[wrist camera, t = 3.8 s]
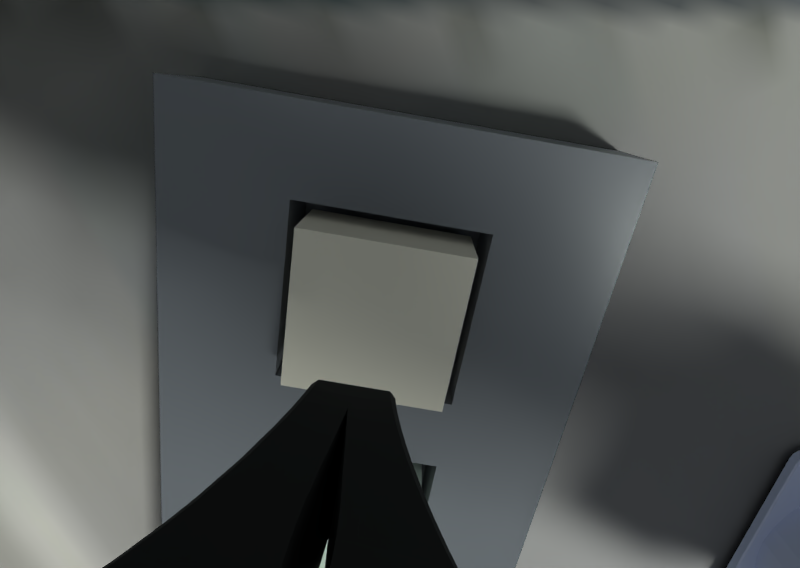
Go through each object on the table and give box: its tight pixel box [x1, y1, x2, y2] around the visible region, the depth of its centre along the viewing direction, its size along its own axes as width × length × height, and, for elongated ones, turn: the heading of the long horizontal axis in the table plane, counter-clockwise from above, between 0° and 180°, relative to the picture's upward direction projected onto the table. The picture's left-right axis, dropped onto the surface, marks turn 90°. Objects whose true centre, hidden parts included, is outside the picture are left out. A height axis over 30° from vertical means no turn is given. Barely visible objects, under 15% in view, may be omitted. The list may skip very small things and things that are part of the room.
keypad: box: [153, 73, 658, 568], centre depth 17 cm, size 12×25×2 cm, turn 171°
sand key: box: [281, 209, 478, 412], centre depth 13 cm, size 4×4×2 cm
